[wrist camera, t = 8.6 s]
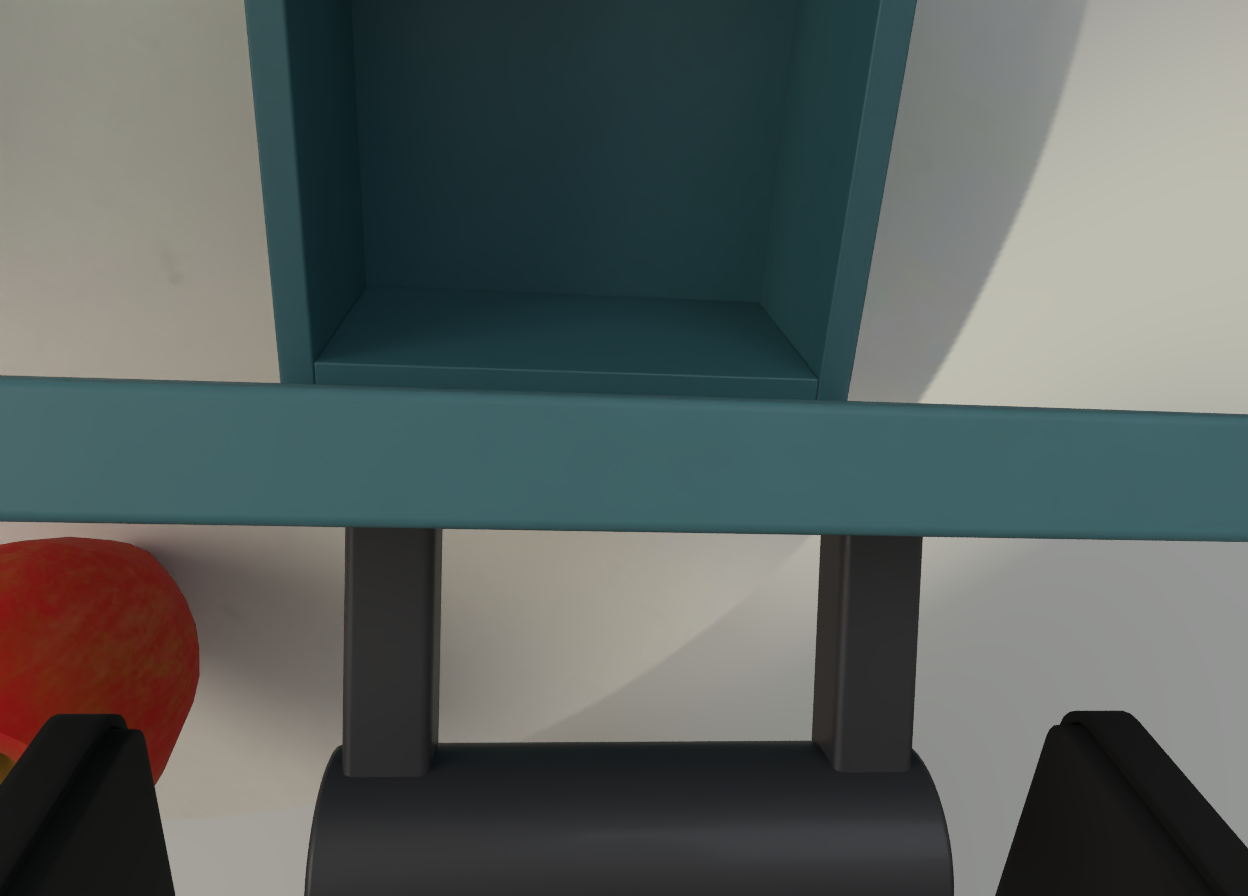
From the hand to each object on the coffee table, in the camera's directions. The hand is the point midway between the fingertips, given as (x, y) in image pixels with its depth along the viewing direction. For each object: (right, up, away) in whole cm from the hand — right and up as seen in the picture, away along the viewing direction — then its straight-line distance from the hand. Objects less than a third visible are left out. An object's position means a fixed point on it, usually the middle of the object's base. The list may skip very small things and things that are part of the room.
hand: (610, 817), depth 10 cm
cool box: (-1, +15, +16) cm, 22 cm away
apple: (-17, 0, +22) cm, 28 cm away
